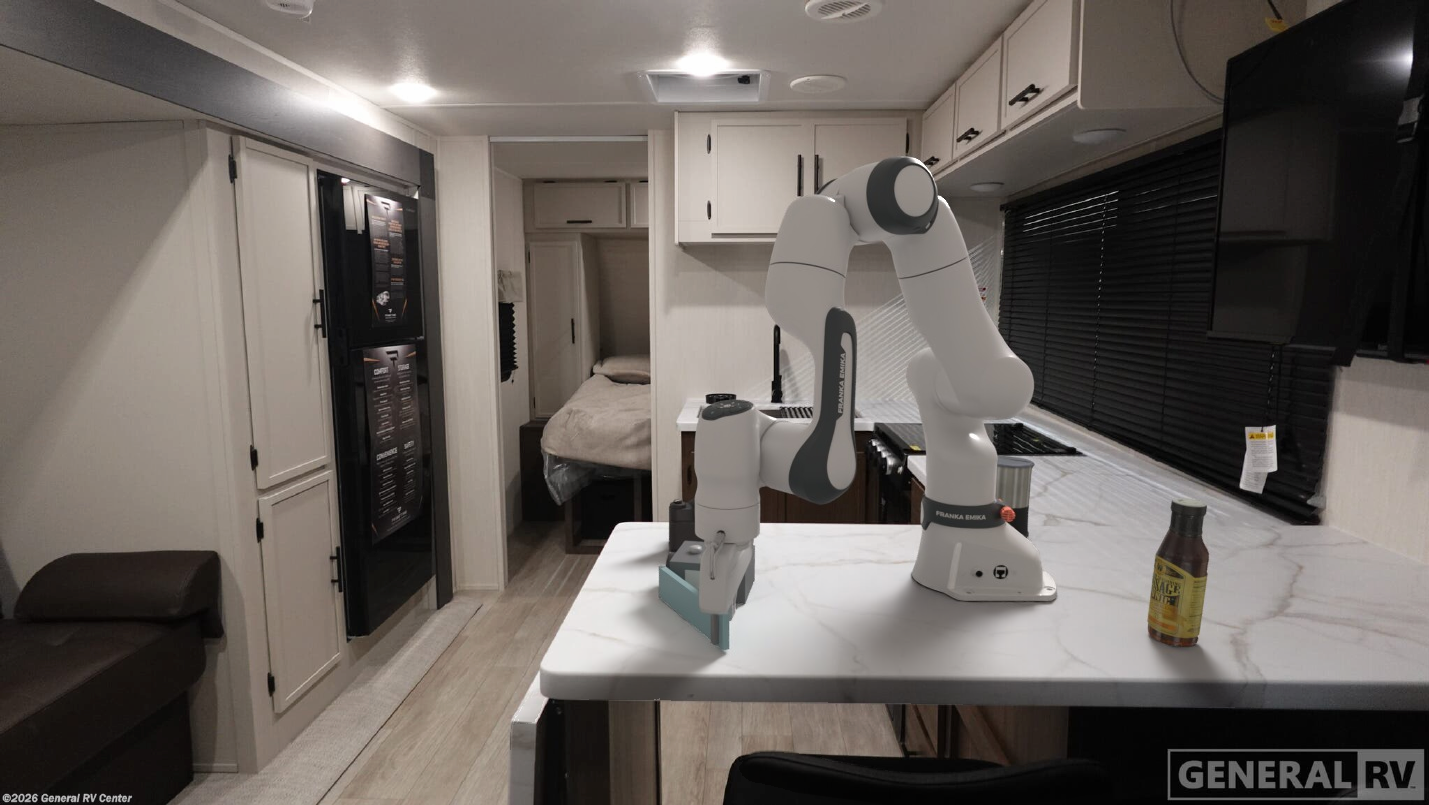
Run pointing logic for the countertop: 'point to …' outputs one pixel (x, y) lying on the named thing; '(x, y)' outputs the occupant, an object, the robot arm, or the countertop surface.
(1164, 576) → the sauce bottle
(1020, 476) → the milk frother
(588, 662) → the countertop surface
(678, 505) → the camera
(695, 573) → the camera housing
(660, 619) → the countertop surface
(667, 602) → the side door
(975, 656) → the countertop surface
